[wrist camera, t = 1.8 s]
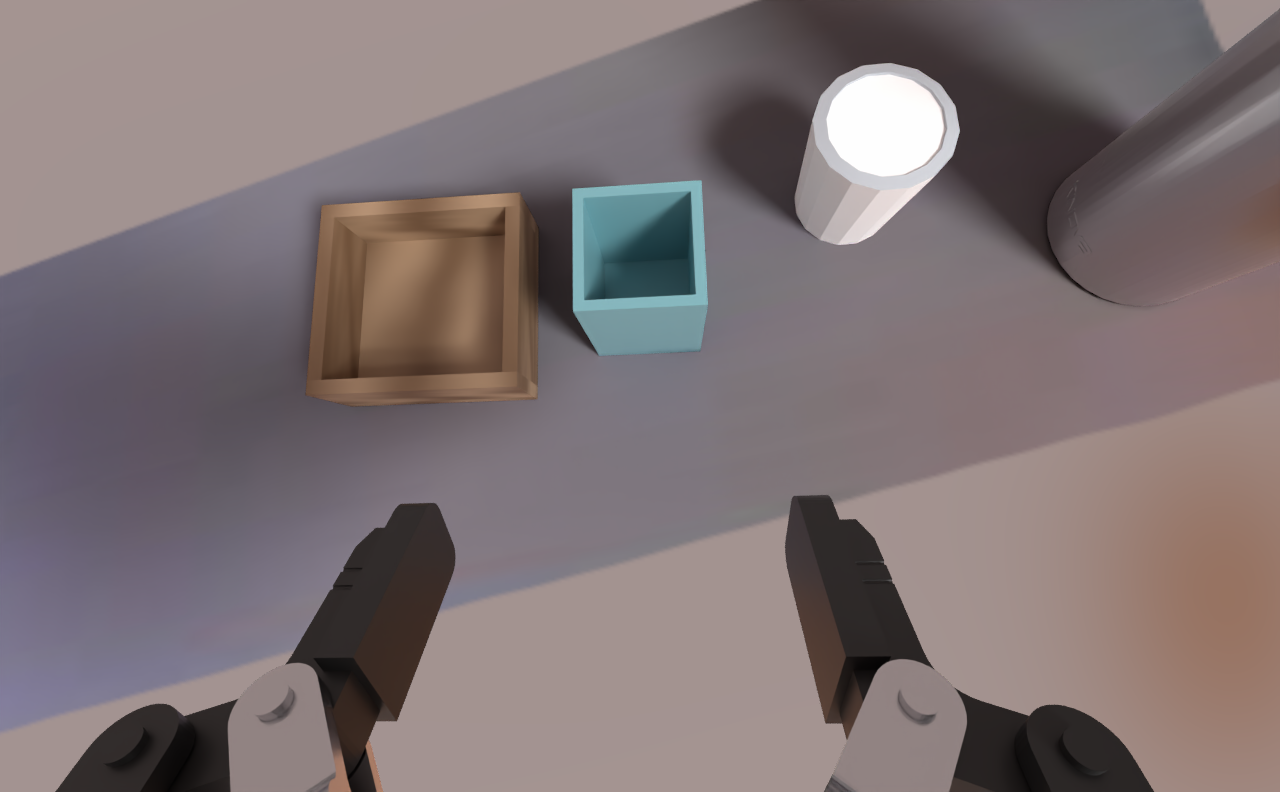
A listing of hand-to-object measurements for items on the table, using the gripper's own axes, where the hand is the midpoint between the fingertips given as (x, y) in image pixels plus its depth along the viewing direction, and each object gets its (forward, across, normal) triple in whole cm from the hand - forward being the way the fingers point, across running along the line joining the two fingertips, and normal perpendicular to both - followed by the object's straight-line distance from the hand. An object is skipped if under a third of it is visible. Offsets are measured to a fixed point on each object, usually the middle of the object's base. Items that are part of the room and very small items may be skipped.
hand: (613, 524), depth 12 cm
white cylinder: (+25, -12, 0) cm, 28 cm away
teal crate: (+21, 0, +4) cm, 21 cm away
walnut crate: (+21, +12, +4) cm, 25 cm away
